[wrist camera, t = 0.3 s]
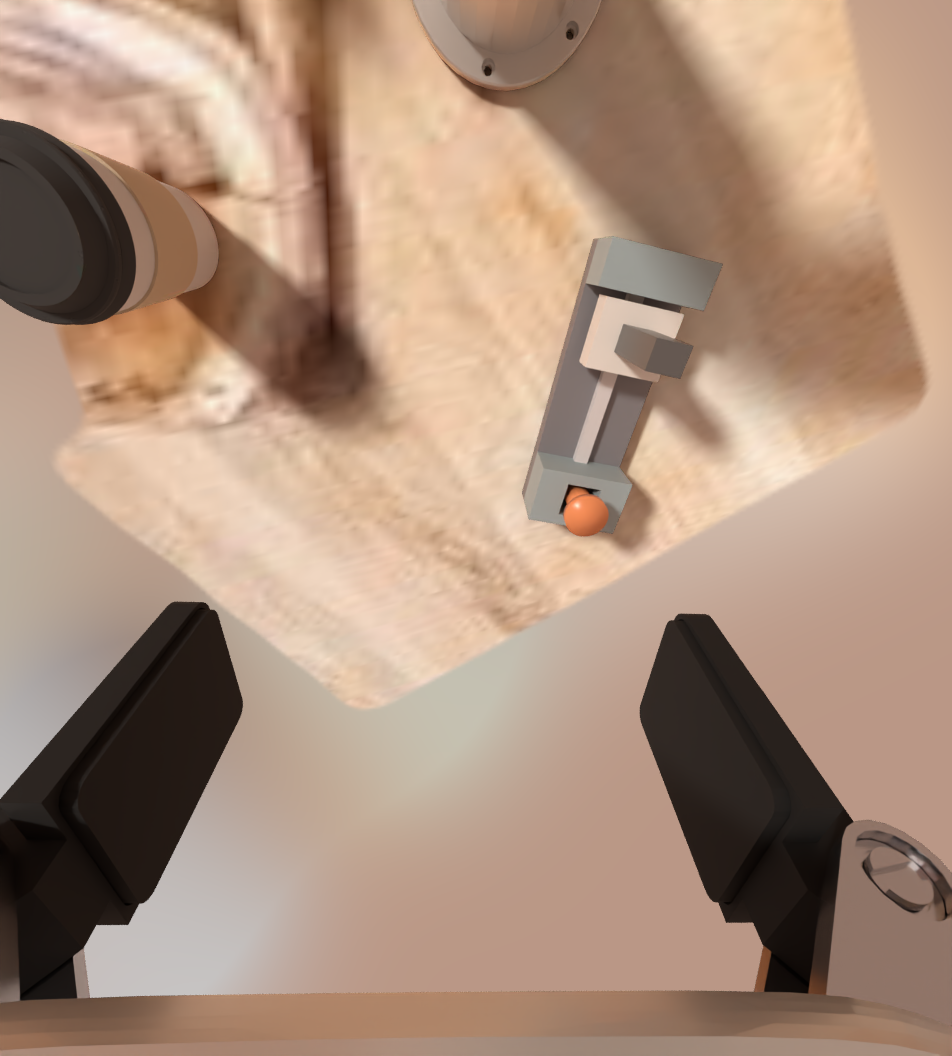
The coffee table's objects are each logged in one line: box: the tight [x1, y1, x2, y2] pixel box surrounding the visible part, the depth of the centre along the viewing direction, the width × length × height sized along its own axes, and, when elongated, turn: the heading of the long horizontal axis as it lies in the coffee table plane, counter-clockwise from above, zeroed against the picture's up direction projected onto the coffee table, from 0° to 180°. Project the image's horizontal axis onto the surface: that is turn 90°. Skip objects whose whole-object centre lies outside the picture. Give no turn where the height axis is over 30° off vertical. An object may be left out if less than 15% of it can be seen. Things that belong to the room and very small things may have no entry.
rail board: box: [522, 236, 723, 534], centre depth 39 cm, size 22×8×6 cm, turn 168°
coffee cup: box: [0, 119, 219, 325], centre depth 29 cm, size 9×9×15 cm
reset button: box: [563, 484, 609, 536], centre depth 41 cm, size 4×4×5 cm
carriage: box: [579, 294, 693, 383], centre depth 33 cm, size 5×6×9 cm
